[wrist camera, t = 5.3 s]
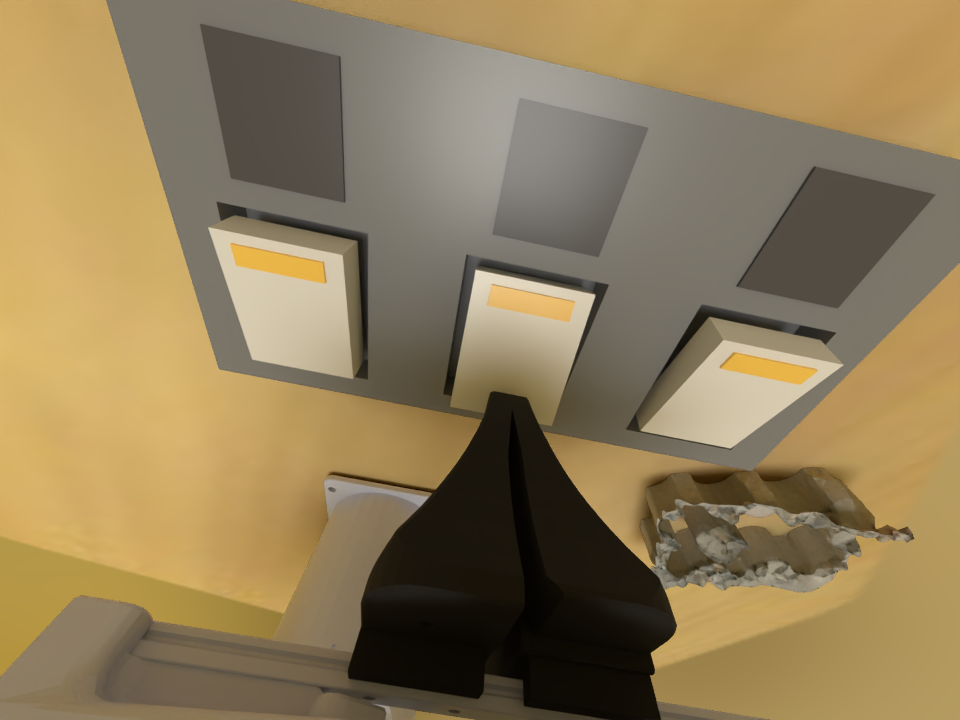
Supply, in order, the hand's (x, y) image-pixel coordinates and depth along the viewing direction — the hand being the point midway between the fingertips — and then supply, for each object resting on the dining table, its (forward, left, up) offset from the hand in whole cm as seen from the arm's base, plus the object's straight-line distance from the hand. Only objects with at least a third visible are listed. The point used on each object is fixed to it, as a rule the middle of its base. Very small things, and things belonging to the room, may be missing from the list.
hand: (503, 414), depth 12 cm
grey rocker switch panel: (+4, 0, -4) cm, 6 cm away
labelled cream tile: (+2, +8, -1) cm, 8 cm away
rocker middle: (+2, 0, -1) cm, 2 cm away
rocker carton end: (+2, -8, -1) cm, 8 cm away
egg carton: (-8, -16, -4) cm, 18 cm away
